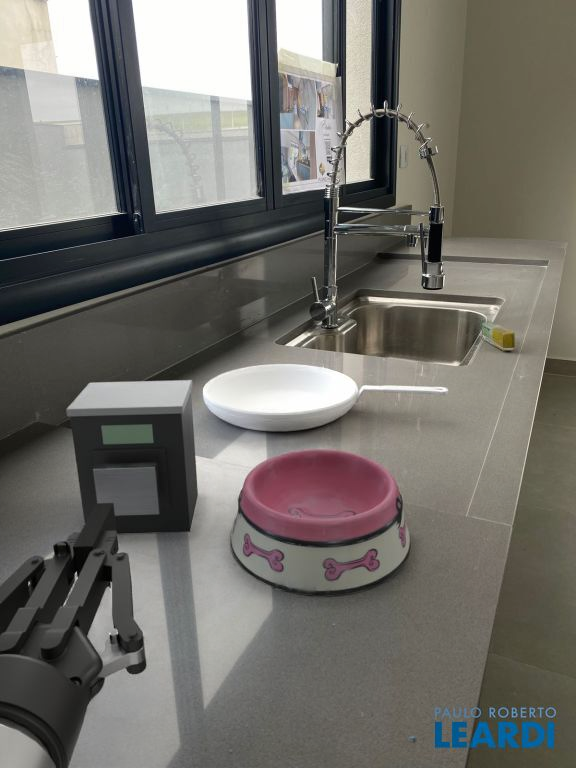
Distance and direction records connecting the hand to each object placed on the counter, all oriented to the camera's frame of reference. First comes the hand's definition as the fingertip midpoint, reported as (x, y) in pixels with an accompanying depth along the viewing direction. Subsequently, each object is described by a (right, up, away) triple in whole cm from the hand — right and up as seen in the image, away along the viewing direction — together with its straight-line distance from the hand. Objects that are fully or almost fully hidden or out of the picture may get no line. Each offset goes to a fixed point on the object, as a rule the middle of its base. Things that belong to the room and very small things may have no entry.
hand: (106, 517), depth 52 cm
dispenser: (0, -3, +16) cm, 16 cm away
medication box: (+62, +20, +83) cm, 106 cm away
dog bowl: (+19, -5, +11) cm, 22 cm away
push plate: (0, -1, +9) cm, 9 cm away
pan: (+21, +7, +46) cm, 51 cm away
